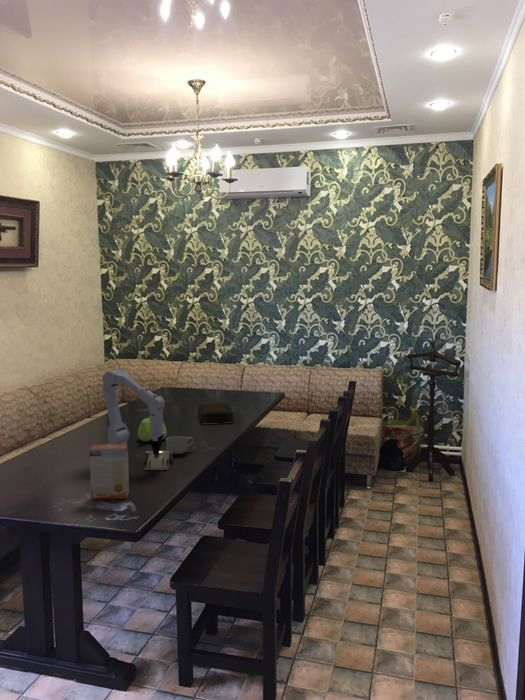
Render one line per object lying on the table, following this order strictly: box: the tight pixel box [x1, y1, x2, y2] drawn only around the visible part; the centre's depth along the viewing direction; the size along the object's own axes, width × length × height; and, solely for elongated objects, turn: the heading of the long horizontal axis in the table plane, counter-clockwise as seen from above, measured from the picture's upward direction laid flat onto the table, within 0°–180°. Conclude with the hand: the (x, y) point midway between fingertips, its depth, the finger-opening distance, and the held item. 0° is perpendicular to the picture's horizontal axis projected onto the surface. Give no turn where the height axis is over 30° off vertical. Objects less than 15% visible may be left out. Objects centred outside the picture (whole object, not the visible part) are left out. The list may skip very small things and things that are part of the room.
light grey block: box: [151, 454, 163, 468], centre depth 268 cm, size 5×5×6 cm
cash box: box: [197, 402, 234, 424], centre depth 360 cm, size 25×20×8 cm
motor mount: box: [144, 450, 174, 470], centre depth 272 cm, size 13×15×6 cm
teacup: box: [165, 435, 194, 455], centre depth 291 cm, size 14×11×8 cm
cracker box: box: [89, 444, 130, 500], centre depth 232 cm, size 14×6×21 cm, turn 92°
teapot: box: [137, 415, 168, 442], centre depth 313 cm, size 22×15×13 cm
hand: (156, 451), depth 268 cm, fingers open, 7 cm apart
